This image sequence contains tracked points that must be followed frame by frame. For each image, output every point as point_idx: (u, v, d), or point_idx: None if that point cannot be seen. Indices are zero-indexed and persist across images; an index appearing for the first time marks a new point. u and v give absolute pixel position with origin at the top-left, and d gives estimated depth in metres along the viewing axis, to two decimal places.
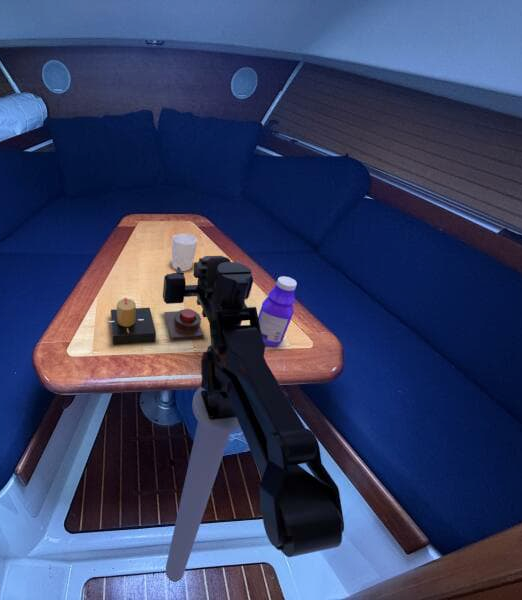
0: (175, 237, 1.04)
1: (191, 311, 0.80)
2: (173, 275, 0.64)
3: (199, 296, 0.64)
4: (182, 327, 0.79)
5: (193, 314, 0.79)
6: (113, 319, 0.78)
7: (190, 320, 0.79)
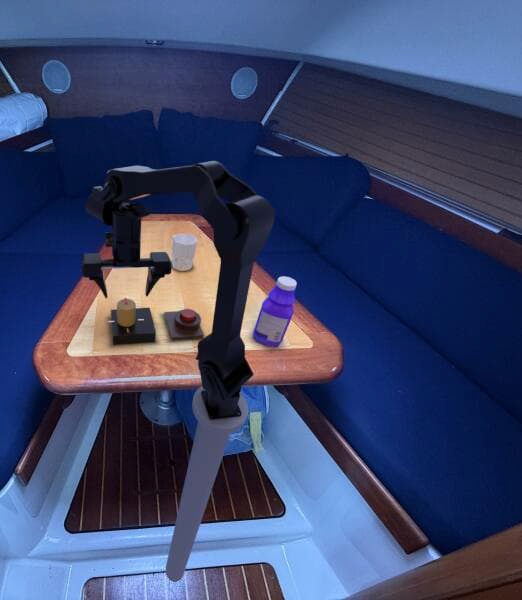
0: (175, 237, 1.04)
1: (191, 311, 0.80)
2: None
3: None
4: (182, 327, 0.79)
5: (193, 314, 0.79)
6: (113, 319, 0.78)
7: (190, 320, 0.79)
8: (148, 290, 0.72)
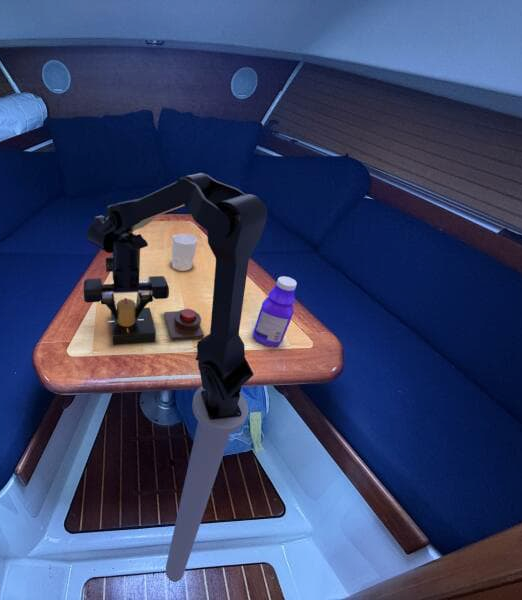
0: (175, 237, 1.04)
1: (191, 311, 0.80)
2: None
3: (113, 275, 0.70)
4: (182, 327, 0.79)
5: (193, 314, 0.79)
6: (113, 319, 0.78)
7: (190, 320, 0.79)
8: (137, 313, 0.75)
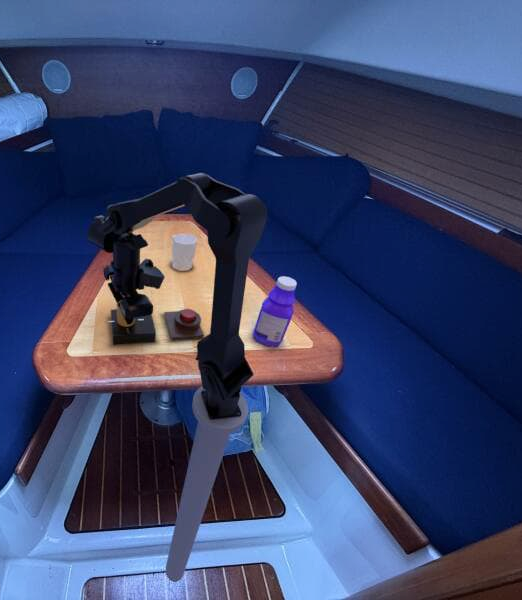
0: (175, 237, 1.04)
1: (191, 311, 0.80)
2: None
3: None
4: (182, 327, 0.79)
5: (193, 314, 0.79)
6: (113, 319, 0.78)
7: (190, 320, 0.79)
8: (124, 317, 0.73)
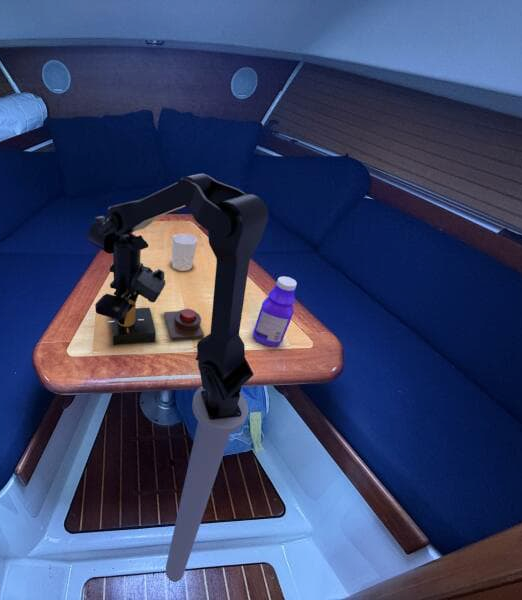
0: (175, 237, 1.04)
1: (191, 311, 0.80)
2: None
3: None
4: (182, 327, 0.79)
5: (193, 314, 0.79)
6: (113, 319, 0.78)
7: (190, 320, 0.79)
8: None
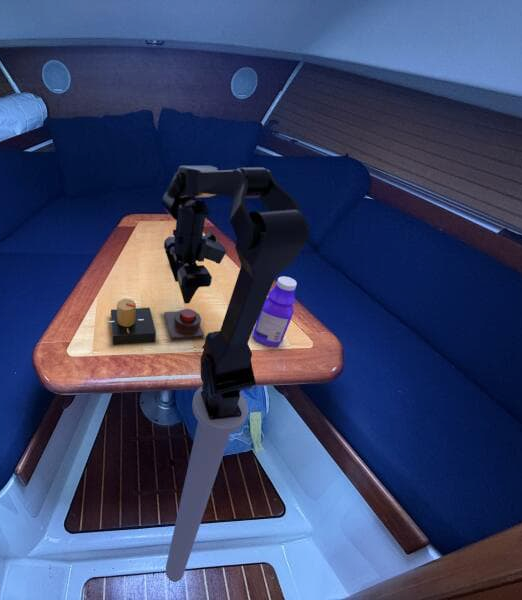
0: None
1: (191, 311, 0.80)
2: None
3: None
4: (182, 327, 0.79)
5: (193, 314, 0.79)
6: (113, 319, 0.78)
7: (190, 320, 0.79)
8: (182, 295, 0.70)
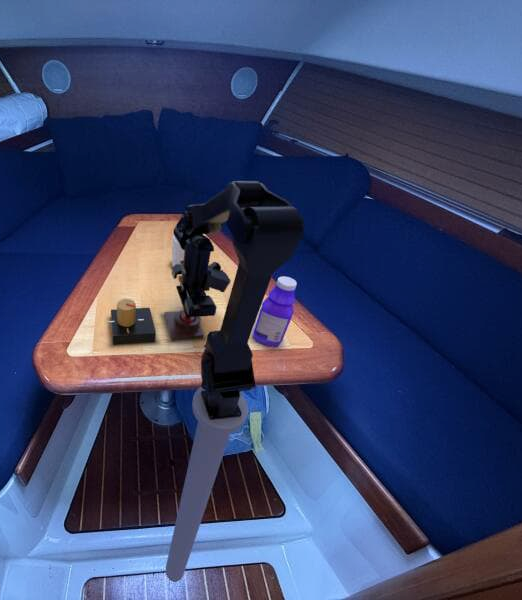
0: None
1: None
2: None
3: None
4: (182, 327, 0.79)
5: (192, 317, 0.80)
6: (113, 319, 0.78)
7: None
8: (184, 310, 0.78)
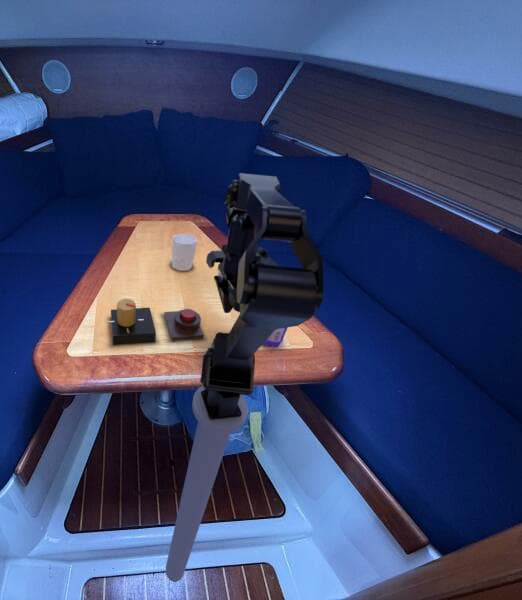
0: (175, 237, 1.04)
1: (191, 311, 0.80)
2: None
3: None
4: (182, 327, 0.79)
5: (193, 314, 0.79)
6: (113, 319, 0.78)
7: (190, 320, 0.79)
8: (223, 304, 0.66)
